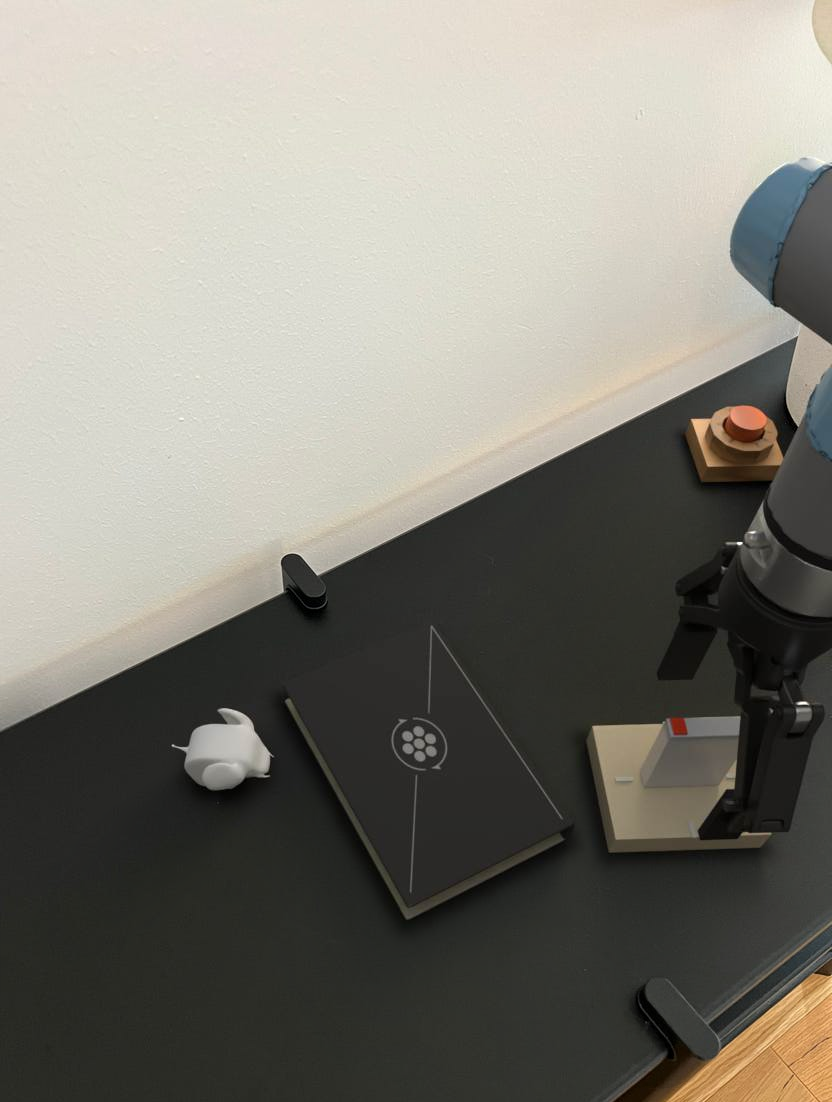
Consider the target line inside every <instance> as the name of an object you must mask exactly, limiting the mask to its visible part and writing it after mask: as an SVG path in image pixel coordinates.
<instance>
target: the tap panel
mask: <svg viewBox="0 0 832 1102" xmlns="http://www.w3.org/2000/svg"><path fill="white" fill-rule="evenodd" d="M664 723H665V721H662V723H646V724H617V725H616V724H613V725H592V726H591V729H590V731H589V734H588V735H587V738H586V741H585V742H586V747H587V753H588V756H589V762H590V767H591V772H592V776H593V777H592V778H593V782H594V786H595V787H594V788H595V790H596V791H595V792H596V796H597V802H598V806H599V811H600V817H601V821H602V826H603V831H604V836H605V842H606V846H607V852H608V853H612V854H613V853H637V852H638V853H639V852H667V851H670V852H671V851H672V852H673V851H696V850H697V851H699V850H728V849H730V850H731V849H758V848H759V849H760V848H762V847H763V845H764V844H765V843H767V841H768V840H769V838H770V837H771V836H772V833H748V832H743V833H742V834H741V835H740V837H739V838H738V839H728V840H700V838H699V835H698V829H699V828H700V826H701V825H702V823H703V822H704V821H705V819H706V818H707V816H708V815H709V813H710V812H711V810H712V809H713V808H714V806H715V805H716V803H717V802H718V800H719V799H720V798H721V796H722V795H723V793H724V792H725V790H726V789H734V787H735V775H736V763H737V759H736V761H735V762H734V764H733V765H732V767H731V768H730V770H729V771H728V773H727V774H726V776H725V777H724V779H723V780H722V782H721V783H720V785H715V786H683V787H651V788H644V786H643V782H642V778H641V773H640V769H641V767H642V765H643V763H644V761H645V759H646V757H647V755H648V753H649V751H650V749H651V748H652V746H653V744H654V742H655V740H656V738H657V736H658V734H659V732H660V730H661V728H662V726H663V724H664Z"/></svg>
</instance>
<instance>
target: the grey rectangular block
mask: <svg viewBox="0 0 832 1102" xmlns="http://www.w3.org/2000/svg"><path fill="white" fill-rule="evenodd" d="M740 716H741V715H739V716H707V717H706V716H705V717H670V718H669V717H668V718H666V719H665V721H664V722H665V723H664V724H663V723H662V724H663V726H662V728H661V730H660V732H659V734H658V736H657V738H656V740H655V742H654V744H653V746H652V748H651V749H650V751H649V753H648V755H647V757H646V759H645V761H644V763H643V765H642V767H641V769H640V773H641V778H642V782H643V786H644V788H651V787H683V786H715V785H720V783H721V782H722V780H723V779H724V777H725V776H726V774H727V773H728V771H729V770H730V768H731V767H732V765H733V764H734V762H735V761H736V759H737V751H738V740H739V728H740Z"/></svg>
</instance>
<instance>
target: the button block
mask: <svg viewBox="0 0 832 1102" xmlns="http://www.w3.org/2000/svg"><path fill="white" fill-rule="evenodd" d="M735 407H737V406H725V407H723V408H721V409H719V410H717V411H715V412H713V415H712V416H711V418H691V419H690V421H689V423H688V426H687V428H686V431H685V433H684V435H685V439H686V441H687V444H688V447H689V450H690V454H691V456H692V459H693V462H694V465H695V467H696V470H697V471H696V472H697V474H698V476H699V480H700V482H701V483H718V482H719V483H724V482H768V481H771V482H772V481H773V480H774V478H775V476H776V474H777V472H778V469H779V467H780V465H781V463H782V461H783V459H784V455H783V454H782V453H783V452H782V450H781V448H780V446H779V444H778V441H777V437H778V434H779V432H778V430H777V427H776V425H775V423H774V421H773V420H771V418H769V417H768V416H766V419H767V423H766V425H765V428H764V430H763V432H762V434H761V436H760V438H759V439H758V440H756V441H754V442H750V443H743V442H740V441H737V440H734V439H732V438H731V437H730V436H728V434H727V433H726V431H725V424H726V421H727V419H728V417H729V414H730V412H731V410H732V409H734V408H735Z"/></svg>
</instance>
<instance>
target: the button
mask: <svg viewBox="0 0 832 1102" xmlns="http://www.w3.org/2000/svg"><path fill="white" fill-rule="evenodd" d="M766 417H767V415H766V414H765V413H764V412H763V411H762V410H760V409H759V408H757V407H754V406H751V405H738V406H737V407H735V408H734V409H732V410H731V412H730V414H729V417H728V419H727V421H726V424H725V431H726V433H727V434H728V436H730V437H731V438H732V439H734V440H737V441H740V442H743V443H750V442H754V441H756V440H758V439H759V438H760V436H761V434H762V432H763V430H764V428H765V425H766V423H767V419H766Z"/></svg>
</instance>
